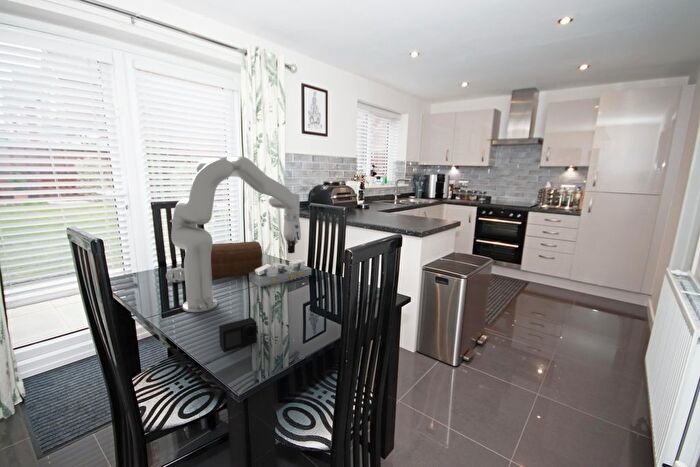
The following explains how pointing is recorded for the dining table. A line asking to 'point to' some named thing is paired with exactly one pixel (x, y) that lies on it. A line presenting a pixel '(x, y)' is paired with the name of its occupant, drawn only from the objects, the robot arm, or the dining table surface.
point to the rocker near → (263, 269)
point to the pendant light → (175, 272)
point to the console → (279, 275)
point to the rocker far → (297, 263)
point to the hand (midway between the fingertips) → (291, 252)
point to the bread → (235, 259)
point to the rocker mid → (281, 266)
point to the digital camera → (238, 334)
